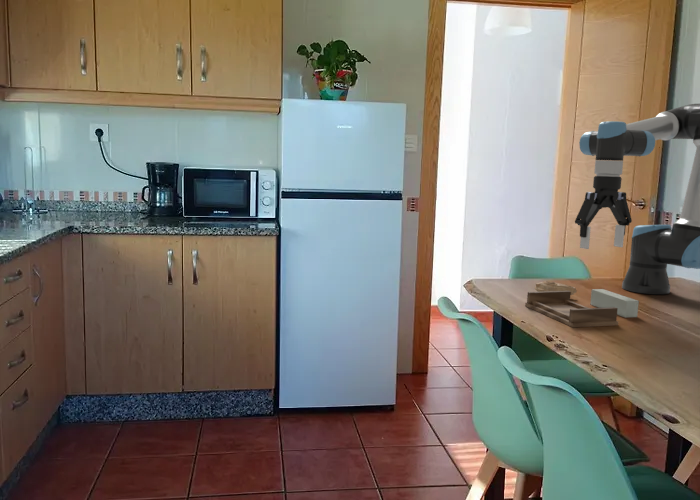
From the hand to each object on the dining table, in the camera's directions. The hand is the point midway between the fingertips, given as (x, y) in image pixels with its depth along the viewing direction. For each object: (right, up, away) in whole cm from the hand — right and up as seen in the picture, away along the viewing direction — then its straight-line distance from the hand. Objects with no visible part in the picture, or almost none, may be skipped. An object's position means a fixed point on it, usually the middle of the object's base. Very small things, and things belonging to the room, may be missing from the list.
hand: (601, 247), depth 182 cm
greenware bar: (+4, -19, +1) cm, 19 cm away
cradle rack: (-12, -19, -6) cm, 23 cm away
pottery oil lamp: (-8, -16, +17) cm, 25 cm away
